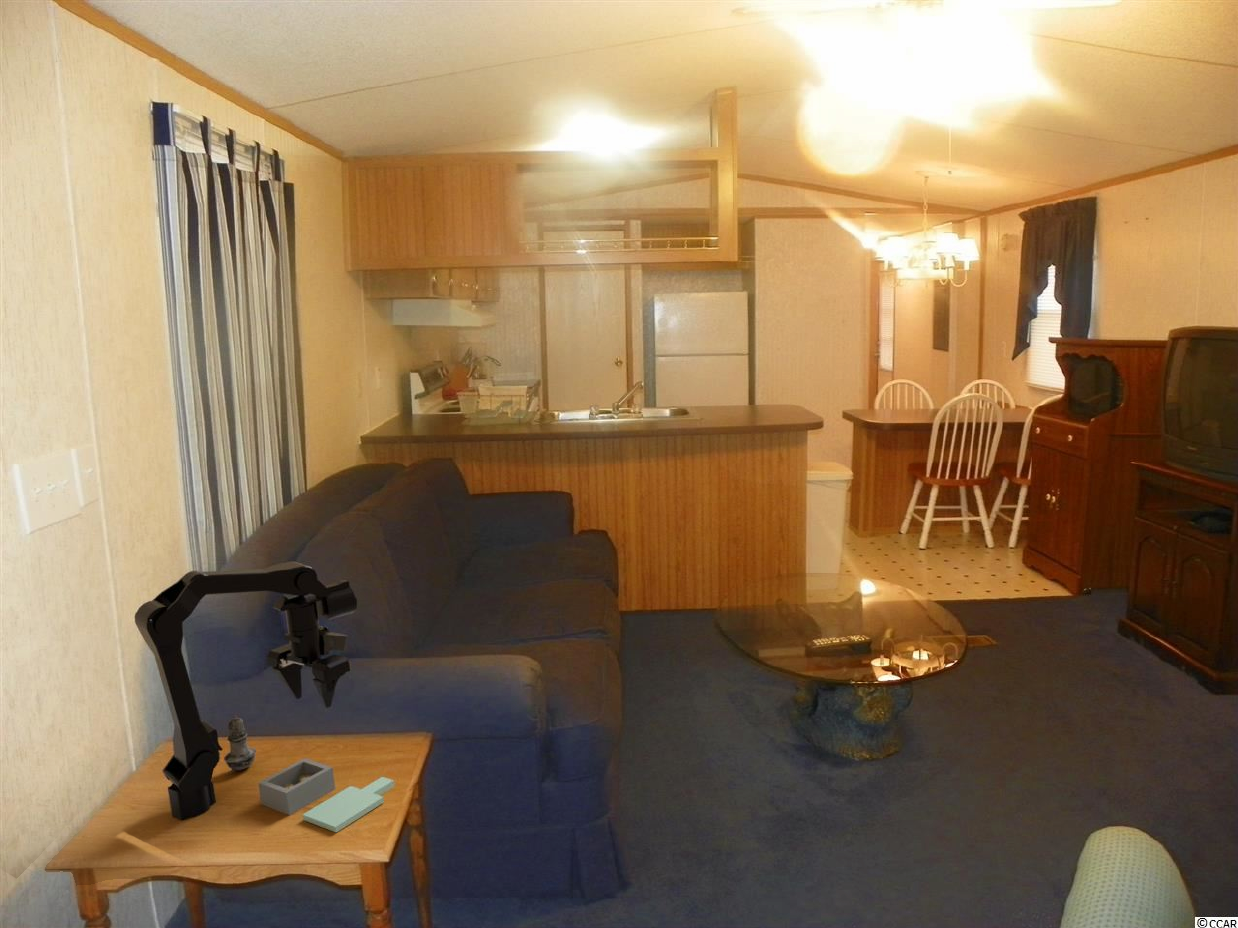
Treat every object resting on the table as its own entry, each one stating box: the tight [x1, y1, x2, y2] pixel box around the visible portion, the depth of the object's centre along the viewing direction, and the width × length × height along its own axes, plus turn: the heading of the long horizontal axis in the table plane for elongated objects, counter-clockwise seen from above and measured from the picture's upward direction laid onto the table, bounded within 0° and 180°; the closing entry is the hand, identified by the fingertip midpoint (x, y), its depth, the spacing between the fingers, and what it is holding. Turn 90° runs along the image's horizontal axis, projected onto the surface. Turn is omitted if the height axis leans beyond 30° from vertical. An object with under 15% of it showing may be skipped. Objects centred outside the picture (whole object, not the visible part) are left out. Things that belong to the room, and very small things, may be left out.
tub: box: [258, 758, 336, 816], centre depth 166 cm, size 10×8×5 cm
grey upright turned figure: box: [223, 714, 257, 776], centre depth 178 cm, size 6×6×12 cm
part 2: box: [299, 774, 312, 782], centre depth 167 cm, size 2×2×3 cm
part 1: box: [282, 784, 294, 789], centre depth 164 cm, size 2×2×3 cm
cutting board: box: [302, 776, 395, 833], centre depth 162 cm, size 16×9×2 cm, turn 147°
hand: (313, 702), depth 178 cm, fingers open, 9 cm apart
